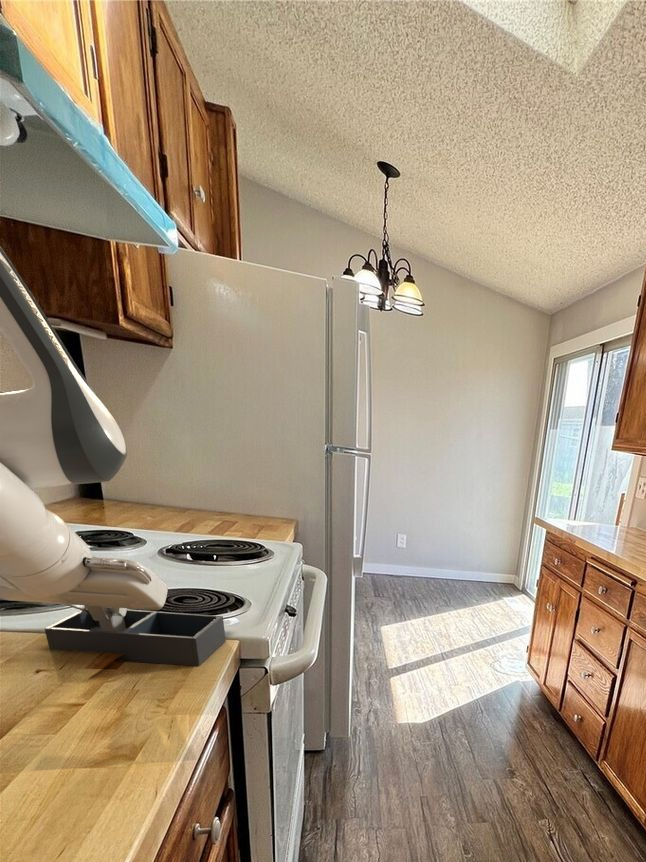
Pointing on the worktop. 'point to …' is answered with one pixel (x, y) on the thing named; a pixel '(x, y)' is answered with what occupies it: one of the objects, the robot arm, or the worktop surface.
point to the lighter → (107, 619)
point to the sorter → (143, 637)
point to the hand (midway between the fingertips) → (107, 610)
